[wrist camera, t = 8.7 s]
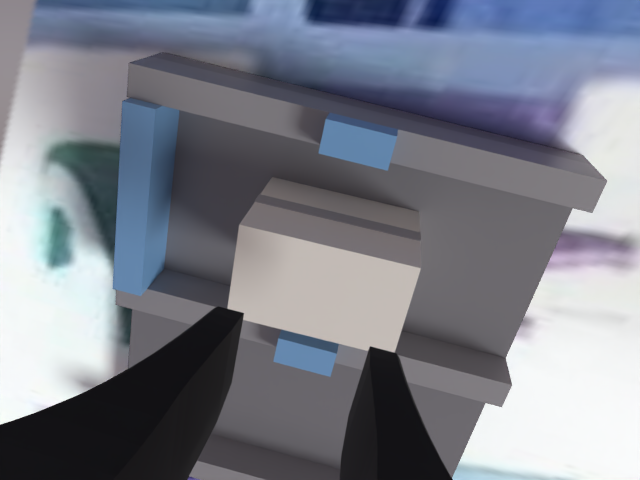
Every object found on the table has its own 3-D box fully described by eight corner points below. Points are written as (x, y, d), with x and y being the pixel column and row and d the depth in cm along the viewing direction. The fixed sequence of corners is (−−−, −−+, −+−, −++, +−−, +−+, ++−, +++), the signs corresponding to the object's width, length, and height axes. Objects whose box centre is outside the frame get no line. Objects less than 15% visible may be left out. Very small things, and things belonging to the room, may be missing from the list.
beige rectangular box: (258, 255, 20) (225, 316, 17) (271, 176, 19) (238, 223, 15) (397, 288, 20) (393, 357, 16) (420, 211, 19) (421, 267, 15)
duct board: (133, 411, 26) (97, 468, 23) (162, 52, 19) (115, 66, 16) (435, 494, 25) (438, 563, 22) (582, 155, 18) (616, 190, 15)
